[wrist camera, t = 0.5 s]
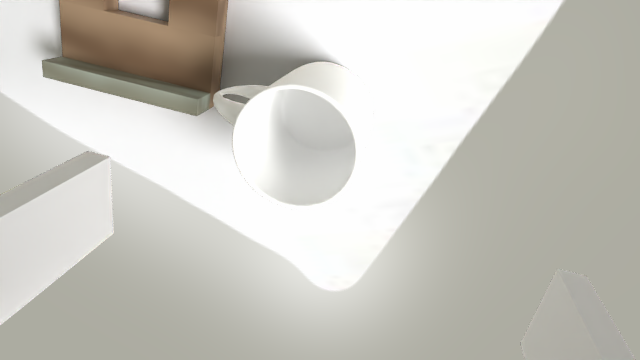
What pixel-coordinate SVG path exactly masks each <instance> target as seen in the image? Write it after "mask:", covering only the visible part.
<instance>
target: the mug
mask: <svg viewBox="0 0 640 360" xmlns="http://www.w3.org/2000/svg"><path fill="white" fill-rule="evenodd" d="M225 94H236V95H241V96H244V97H247V98H249V99H250V100H249V101H248V102H247V103H246V104H243V103H239V102H235V101H232V100H229V99H227V98H225V97H223V95H225ZM213 103H214V106H215V107H216V109H217V111H218V112H219V113H220V114H221V115H222V116H223V117H224V118H225V119H226V120H227V121H228V122H229V123H231V124H232V125H233V126H234V128H233V134H232V147H233V153H234V158H235V161H236V164H237V166H238V168H239V171H240V173H241V174H242V176H243V177H244V179H245V180H246V181H247V183H248V184H249V185H250V186H251V187H252V188H253V189H254V190H255V191H256V192H257V193H258V194H260V195H261V196H262V197H264V198H266V199H267V200H269V201H271V202H273V203H275V204H278V205H280V206H283V207H288V208H294V209H309V208H315V207H319V206H322V205H325V204H327V203H329V202H331V201H333V200H334V199H336V198H337V197H339V196H340V195H341V194H342V193H343V192H344V191H345V190H346V189H347V188H348V187H349V185H350V184H351V182H352V181H353V179H354V177H355V175H356V172H357V169H358V166H359V163H360V160H361V157H362V154H363V151H364V148H365V145H366V141H367V138H368V135H369V132H370V129H371V125H372V120H373V107H372V102H371V98H370V95H369V93H368V91H367V89H366V87H365V85H364V84H363V82H362V81H361V80H360V79H359V78H358V77H357V76H356V75H355V74H354V73H353V72H352V71H350V70H349V69H347V68H345V67H343V66H341V65H338V64H335V63H330V62H312V63H308V64H305V65H303V66H300V67H298V68H296V69H295V70H293V71H291V72H290V73H288V74H287V75H285V76H283V77H282V78H280V79H279V80H277V81H276V82H274V83H273V84H271V85H270V86H263V85H241V86H234V87H229V88H226V89H222V90H220V91H218V92H216V93H215V94H214V97H213Z"/></svg>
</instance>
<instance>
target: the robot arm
mask: <svg viewBox="0 0 640 360" xmlns="http://www.w3.org/2000/svg"><path fill="white" fill-rule="evenodd" d="M112 234H113V208H112V184H111V161H110V157H109V156H105V155H101V154H97V153H93V152H89V151H87V152H84V153H83V154H81V155H79V156H76V157H74V158H72V159H70V160H68V161H66V162H64V163H62V164H60V165H58V166H56V167H54V168H52V169H50V170H48V171H46V172H44V173H42V174H40V175H38V176H36V177H34V178H32V179H30V180H28V181H26V182H24V183H22V184H20V185H18V186H16V187H14V188H12V189H10V190H8V191H6V192H4V193H2V194H0V325H1V324H2V323H4V322H5V321H6V320H7V319H9V318H10V317H11V316H12V315H13V314H15V313H16V312H17V311H18V310H20V309H21V308H22V307H23V306H25V305H26V304H27V303H28V302H29V301H31V300H32V299H33V298H34V297H36V296H37V295H38V294H39V293H41V292H42V291H43V290H44V289H46V288H47V287H48V286H49V285H50V284H51V283H53V282H54V281H55V280H57V279H58V278H59V277H60V276H62V275H63V274H64V273H65V272H66V271H68V270H69V269H70V268H71V267H73V266H74V265H75V264H76V263H78V262H79V261H80V260H81V259H82V258H84V257H85V256H86V255H87V254H89V253H90V252H91V251H92V250H94V249H95V248H96V247H97V246H99V245H100V244H101V243H102V242H103V241H104V240H106V239H107V238H108V237H110V236H111V235H112ZM520 345H521V348H522V351H523V355H524V358H525V360H636V359H635V357H634V356H633V354H632V352H631V351H630V349H629V347H628V345H627V344H626V342H625V340H624V338H623V337H622V335H621V333H620V332H619V330H618V328H617V327H616V325H615V323H614V321H613V320H612V318H611V316H610V315H609V313H608V311H607V310H606V308H605V306H604V304H603V303H602V301H601V299H600V298H599V296H598V294H597V292H596V291H595V289H594V287H593V286H592V284H591V282H590V280H589V279H588V277H587V276H585V275H581V274H577V273H573V272H569V271H565V270H561V269H557V270H556V272H555V274H554V276H553V278H552V280H551V283H550V284H549V286H548V288H547V290H546V292H545V294H544V296H543V298H542V300H541V302H540V304H539V306H538V308H537V310H536V312H535V314H534V317H533V318H532V320H531V323H530V324H529V326H528V329H527V331H526V333H525V335H524V337H523V339H522V341H521V343H520Z"/></svg>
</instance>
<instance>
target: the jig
mask: <svg viewBox="0 0 640 360" xmlns="http://www.w3.org/2000/svg"><path fill="white" fill-rule="evenodd" d="M59 4H60V21H61V37H62V54H63V57H57V58H52V59H47V60H42V68H43V77H46V78H50V79H54V80H58V81H61V82H65V83H69V84H73V85H77V86H81V87H85V88H89V89H93V90H97V91H100V92H104V93H108V94H112V95H116V96H120V97H124V98H128V99H132V100H136V101H140V102H143V103H147V104H151V105H155V106H159V107H163V108H167V109H171V110H175V111H179V112H183V113H186V114H190V115H194V116H198V115H199V114H201V113H203V112H205V111H206V110H208V109H210V108H212V107H213V106H214V103H213V97H214V94H215V93H216V92H218V91H220V82H221V71H222V60H223V50H224V39H225V29H226V18H227V8H228V0H169V21H164V20H159V19H155V18H151V17H147V16H142V15H138V14H134V13H129V12H125V11H121V10H118V0H59Z"/></svg>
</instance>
